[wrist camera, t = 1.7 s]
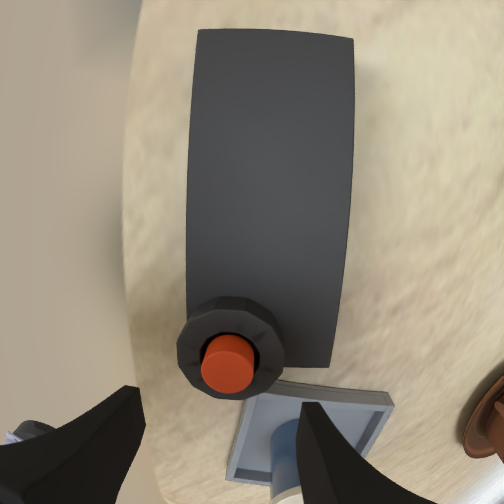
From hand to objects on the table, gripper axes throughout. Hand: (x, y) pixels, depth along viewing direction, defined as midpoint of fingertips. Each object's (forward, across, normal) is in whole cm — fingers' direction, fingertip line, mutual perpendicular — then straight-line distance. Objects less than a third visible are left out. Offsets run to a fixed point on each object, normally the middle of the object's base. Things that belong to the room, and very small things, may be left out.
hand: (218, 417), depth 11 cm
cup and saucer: (+9, -26, +9) cm, 29 cm away
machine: (+9, -2, -8) cm, 12 cm away
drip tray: (+9, -5, +10) cm, 14 cm away
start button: (+5, 0, 0) cm, 5 cm away
